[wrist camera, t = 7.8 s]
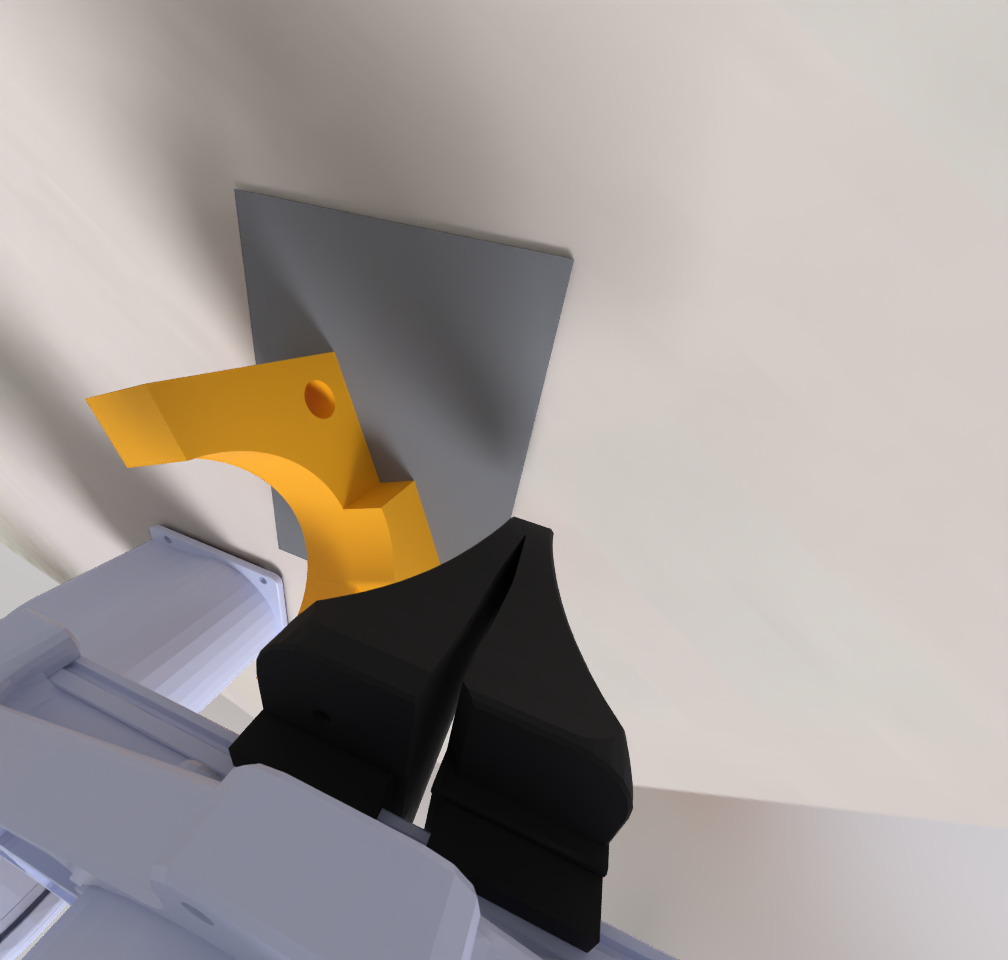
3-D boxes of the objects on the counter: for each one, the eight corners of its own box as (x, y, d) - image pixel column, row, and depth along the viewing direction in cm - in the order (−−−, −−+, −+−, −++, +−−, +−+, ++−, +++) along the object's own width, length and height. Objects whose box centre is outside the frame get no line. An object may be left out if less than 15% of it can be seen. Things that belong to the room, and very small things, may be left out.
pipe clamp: (452, 601, 18) (372, 735, 13) (379, 597, 20) (278, 714, 14) (371, 343, 14) (193, 371, 8) (285, 362, 15) (84, 398, 10)
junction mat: (281, 546, 21) (278, 548, 20) (239, 190, 13) (234, 188, 13) (483, 628, 19) (482, 631, 18) (573, 259, 11) (572, 259, 11)
